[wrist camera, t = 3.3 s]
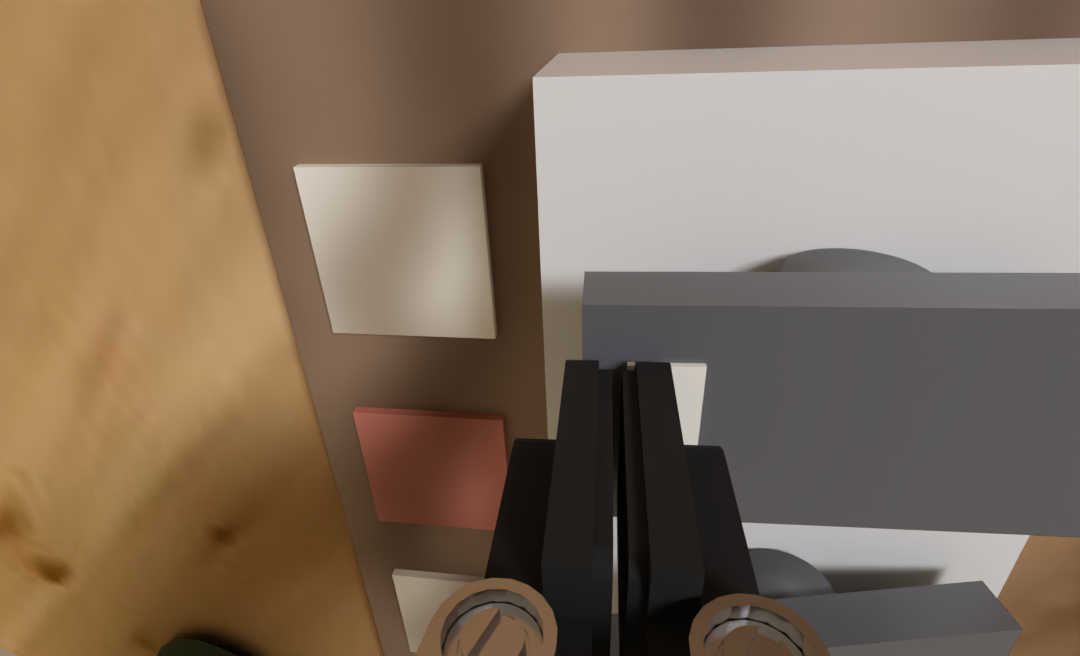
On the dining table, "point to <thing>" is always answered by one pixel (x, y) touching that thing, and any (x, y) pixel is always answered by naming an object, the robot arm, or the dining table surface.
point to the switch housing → (810, 202)
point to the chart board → (458, 227)
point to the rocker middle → (884, 613)
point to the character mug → (192, 649)
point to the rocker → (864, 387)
